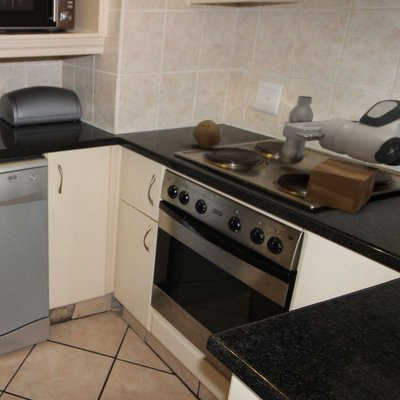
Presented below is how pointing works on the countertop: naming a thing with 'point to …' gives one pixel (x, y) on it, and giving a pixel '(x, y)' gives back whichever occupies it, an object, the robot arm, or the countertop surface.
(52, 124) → the countertop surface
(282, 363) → the countertop surface
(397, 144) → the robot arm
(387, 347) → the countertop surface
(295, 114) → the plastic bottle
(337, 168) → the wooden block
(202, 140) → the brown coconut
